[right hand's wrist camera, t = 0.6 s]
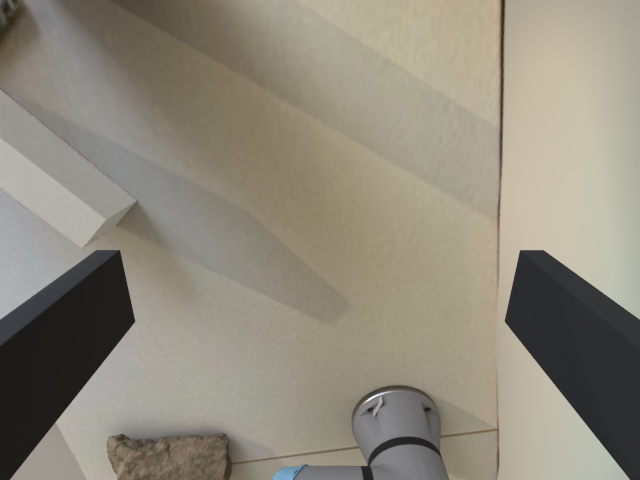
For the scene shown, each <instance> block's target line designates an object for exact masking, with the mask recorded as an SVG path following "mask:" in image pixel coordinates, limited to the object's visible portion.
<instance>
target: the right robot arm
mask: <svg viewBox="0 0 640 480" xmlns="http://www.w3.org/2000/svg"><path fill="white" fill-rule="evenodd" d="M134 322H135V318H134V313H133V309H132V304H131V300H130V295H129V290H128V286H127V281H126V276H125V272H124V267H123V263H122V258H121V253H120V250H96V251H95V252H93V253H92V254H91V255H89V256H88V257H87V258H85V259H84V260H82V261H81V262H80V263H78V264H77V265H75V266H74V267H73V268H71V269H70V270H69V271H67V272H66V273H64V274H63V275H62V276H60V277H59V278H57V279H56V280H55V281H53V282H52V283H51V284H49V285H48V286H46V287H45V288H44V289H42V290H41V291H39V292H38V293H37V294H35V295H34V296H33V297H31V298H30V299H28V300H27V301H26V302H24V303H23V304H21V305H20V306H19V307H17V308H16V309H15V310H13V311H12V312H10V313H9V314H8V315H6V316H5V317H3V318H2V319H1V320H0V480H10V479H11V477H12V476H13V475H14V474H15V472H16V471H17V470H18V469H19V467H20V466H21V465H22V464H23V462H24V461H25V460H26V459H27V457H28V456H29V455H30V453H31V452H32V451H33V450H34V448H35V447H36V446H37V445H38V443H39V442H40V441H41V440H42V438H43V437H44V436H45V435H46V433H47V432H48V431H49V430H50V428H51V427H52V426H53V425H54V423H55V422H56V421H57V419H58V418H59V417H60V416H61V414H62V413H63V412H64V411H65V409H66V408H67V407H68V406H69V404H70V403H71V402H72V401H73V399H74V398H75V397H76V396H77V394H78V393H79V392H80V391H81V389H82V388H83V387H84V385H85V384H86V383H87V382H88V380H89V379H90V378H91V377H92V375H93V374H94V373H95V372H96V370H97V369H98V368H99V367H100V365H101V364H102V363H103V362H104V360H105V359H106V358H107V357H108V355H109V354H110V353H111V351H112V350H113V349H114V348H115V346H116V345H117V344H118V343H119V341H120V340H121V339H122V338H123V336H124V335H125V334H126V333H127V331H128V330H129V329H130V328H131V326H132V325H133V324H134ZM505 322H506V324H507V325H508V326H509V328H510V329H511V330H512V331H513V333H514V334H515V335H516V336H517V338H518V339H519V340H520V341H521V343H522V344H523V345H524V346H525V348H526V349H527V350H528V351H529V353H530V354H531V355H532V356H533V358H534V359H535V360H536V361H537V363H538V364H539V365H540V367H541V368H542V369H543V370H544V372H545V373H546V374H547V375H548V377H549V378H550V379H551V380H552V382H553V383H554V384H555V385H556V387H557V388H558V389H559V391H560V392H561V393H562V394H563V396H564V397H565V398H566V399H567V400H568V402H569V403H570V404H571V406H572V407H573V408H574V409H575V411H576V412H577V413H578V414H579V416H580V417H581V418H582V419H583V421H584V422H585V423H586V424H587V426H588V427H589V428H590V430H591V431H592V432H593V433H594V435H595V436H596V437H597V438H598V440H599V441H600V442H601V443H602V445H603V446H604V447H605V448H606V450H607V451H608V452H609V453H610V455H611V456H612V457H613V459H614V460H615V461H616V462H617V464H618V465H619V466H620V467H621V469H622V470H623V471H624V472H625V474H626V475H627V476H628V477H629V479H630V480H640V320H639V319H638V318H636V317H635V316H634V315H632V314H631V313H630V312H628V311H627V310H625V309H624V308H623V307H621V306H620V305H618V304H617V303H616V302H614V301H613V300H612V299H610V298H609V297H607V296H606V295H605V294H603V293H602V292H601V291H599V290H598V289H596V288H595V287H594V286H592V285H591V284H589V283H588V282H587V281H585V280H584V279H582V278H581V277H580V276H578V275H577V274H576V273H574V272H573V271H571V270H570V269H569V268H567V267H566V266H565V265H563V264H562V263H560V262H559V261H558V260H556V259H555V258H553V257H552V256H551V255H549V254H548V253H547V252H545V251H544V250H521V251H520V254H519V258H518V263H517V268H516V272H515V277H514V281H513V286H512V290H511V295H510V300H509V304H508V309H507V313H506V318H505ZM352 428H353V433H354V437H355V439H356V442H357V444H358V446H359V448H360V450H361V452H362V454H363V456H364V458H365V460H366V462H367V464H368V466H309V465H306V464H304V465H301V466H295V467H284V468H282V469H281V470H279V471H278V472H277V473H276V474H275V475H274V477H273V479H272V480H449V478H448V475H447V472H446V469H445V466H444V463H443V460H442V457H441V454H440V428H441V424H440V416H439V413H438V410H437V408H436V405H435V403H434V402H433V400H432V399H431V398H430V397H429V396H428V395H426V394H425V393H423V392H422V391H420V390H417V389H415V388H411V387H407V386H389V387H384V388H381V389H378V390H375V391H373V392H371V393H369V394H368V395H366V396H365V397H364V398H363V399H362V400H361V401H360V402H359V403H358V404H357V406H356V407H355V409H354V412H353V415H352Z"/></svg>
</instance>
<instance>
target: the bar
mask: <svg viewBox="0 0 640 480" xmlns="http://www.w3.org/2000/svg"><path fill="white" fill-rule="evenodd" d="M0 189H2V190H3V191H4V192H6V193H7V194H8V195H10V196H11V197H13V198H14V199H15V200H17V201H18V202H19V203H21V204H22V205H23V206H25V207H26V208H27V209H29V210H30V211H31V212H33V213H34V214H36V215H37V216H38V217H40V218H41V219H42V220H44V221H45V222H46V223H48V224H49V225H50V226H52V227H53V228H55V229H56V230H57V231H59V232H60V233H61V234H63V235H64V236H65V237H67V238H68V239H69V240H71V241H72V242H73V243H75V244H76V245H78V246H79V247H80V248H82V249H83V248H85V247H86V246H87V245H89V244H90V243H92V242H93V241H95V240H96V239H98V238H99V237H101V236H102V235H103V234H105V233H106V232H108V231H109V230H111V229H112V228H114V227H115V226H116V225H117V224H118V223H119V222H120V220H121V219H122V218H123V217H124V216H125V214H126V213H127V212H128V211H129V210H130V209H131V207H132V206H133V205H134V204H135V203H136V201H137V200H136V199H134V198H133V197H132V196H131V195H129V194H128V193H127V192H126V191H125V190H123V189H122V188H121V187H120V186H118V185H117V184H116V183H115V182H114V181H112V180H111V179H110V178H109V177H107V176H106V175H105V174H104V173H102V172H101V171H100V170H99V169H98V168H96V167H95V166H94V165H93V164H91V163H90V162H89V161H88V160H86V159H85V158H84V157H83V156H82V155H80V154H79V153H78V152H77V151H75V150H74V149H73V148H72V147H71V146H69V145H68V144H67V143H66V142H64V141H63V140H62V139H61V138H59V137H58V136H57V135H56V134H55V133H53V132H52V131H51V130H50V129H48V128H47V127H46V126H45V125H43V124H42V123H41V122H40V121H39V120H37V119H36V118H35V117H34V116H32V115H31V114H30V113H29V112H28V111H26V110H25V109H24V108H23V107H21V106H20V105H19V104H18V103H16V102H15V101H14V100H13V99H12V98H10V97H9V96H8V95H7V94H5V93H4V92H3V91H2V90H0Z"/></svg>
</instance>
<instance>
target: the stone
mask: <svg viewBox="0 0 640 480" xmlns="http://www.w3.org/2000/svg"><path fill="white" fill-rule="evenodd" d="M228 442H229V440H228V437H227V435H226V434H215V435H213V436H208V437H199V436H197V435H191V436H186V437H178V436H175V437H163V438H160V439H159V440H158V442H157V443H154V442H153V441H152V440H149V439H142V440H139V439H130V438H128V437H127V436H125V435H123V434H120V435H117V436H111V437H109V439H108V441H107V453H108V458H109V460H110V462H111V463H112V468H113V470H114V472H115V473H116V474H117V476H118V477H117V479H118V480H229V478H230V474H231V462H230V460H229V458H228V445H227V444H228Z"/></svg>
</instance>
